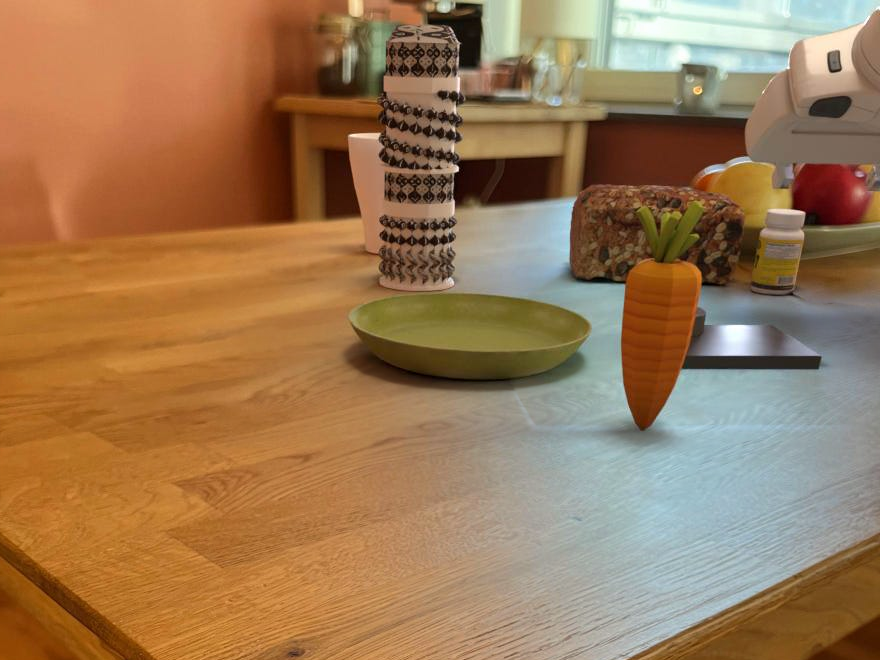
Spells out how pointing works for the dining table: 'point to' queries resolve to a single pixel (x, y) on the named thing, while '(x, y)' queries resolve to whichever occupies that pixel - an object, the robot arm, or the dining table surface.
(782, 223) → the supplement bottle
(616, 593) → the dining table surface
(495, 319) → the saucer
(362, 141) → the cup
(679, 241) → the carrot
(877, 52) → the robot arm
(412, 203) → the decorative candle
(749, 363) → the scale
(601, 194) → the bread
